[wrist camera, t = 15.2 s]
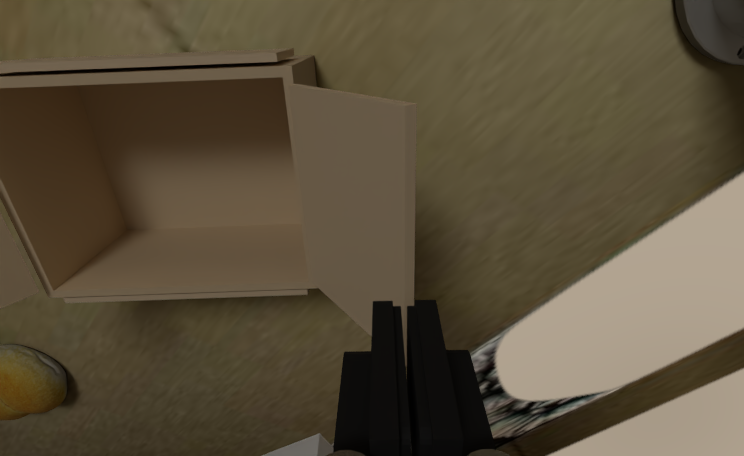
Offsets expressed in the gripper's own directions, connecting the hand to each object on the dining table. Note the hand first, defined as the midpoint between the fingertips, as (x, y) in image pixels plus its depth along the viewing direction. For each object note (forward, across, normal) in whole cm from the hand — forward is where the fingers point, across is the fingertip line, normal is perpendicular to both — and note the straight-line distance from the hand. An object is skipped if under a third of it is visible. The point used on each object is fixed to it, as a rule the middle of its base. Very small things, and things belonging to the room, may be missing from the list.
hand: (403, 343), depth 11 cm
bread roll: (+21, +37, +23) cm, 48 cm away
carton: (+21, +14, 0) cm, 25 cm away
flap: (+12, +5, 0) cm, 13 cm away
